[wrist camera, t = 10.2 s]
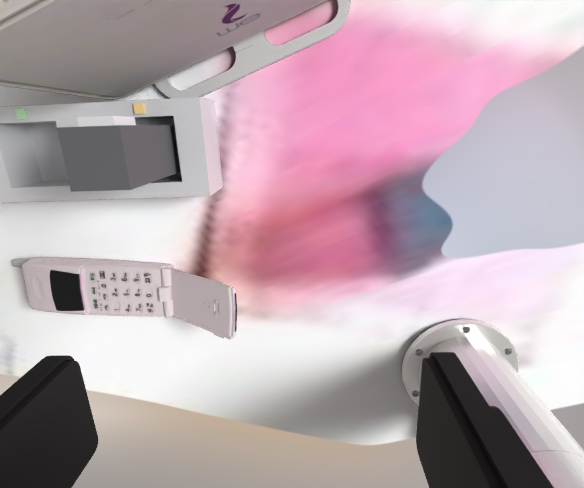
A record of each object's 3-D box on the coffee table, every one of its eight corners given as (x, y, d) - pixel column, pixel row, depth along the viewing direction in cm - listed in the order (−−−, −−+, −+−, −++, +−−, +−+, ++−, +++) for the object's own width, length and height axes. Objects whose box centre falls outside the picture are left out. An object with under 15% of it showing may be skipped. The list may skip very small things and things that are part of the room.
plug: (188, 169, 35) (131, 190, 24) (147, 170, 35) (70, 192, 24) (182, 118, 34) (118, 114, 22) (139, 120, 34) (53, 117, 22)
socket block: (222, 186, 36) (209, 196, 31) (30, 193, 37) (-12, 203, 32) (214, 101, 34) (198, 97, 29) (9, 110, 35) (-40, 108, 30)
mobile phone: (236, 341, 35) (-16, 327, 36) (245, 312, 41) (28, 300, 42) (236, 284, 34) (-30, 270, 34) (245, 262, 39) (18, 250, 40)
